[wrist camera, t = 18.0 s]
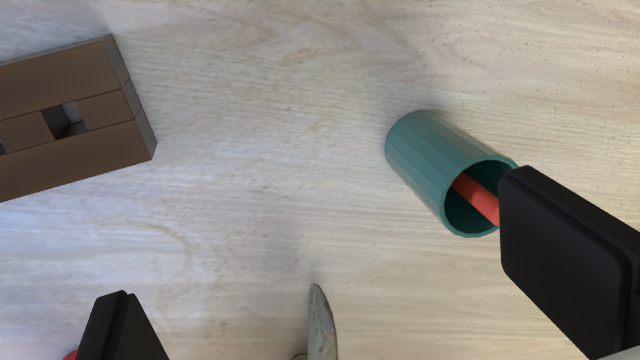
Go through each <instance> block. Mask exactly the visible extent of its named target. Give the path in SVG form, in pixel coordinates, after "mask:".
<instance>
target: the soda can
mask: <svg viewBox="0 0 640 360" xmlns="http://www.w3.org/2000/svg"><path fill="white" fill-rule="evenodd" d="M77 351H78V349H77V350H75V351H73V352H71V353H69V354H68V355H66V356H65V357H64V358H63V359H62V360H75V357H76V354H77Z"/></svg>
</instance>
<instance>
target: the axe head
mask: <svg viewBox="0 0 640 360" xmlns="http://www.w3.org/2000/svg"><path fill="white" fill-rule="evenodd" d="M308 310H309V328H308V355H297V356H296V357H295V358H293V359H292V360H338V347H337V335H336V328H335V323H334V319H333V314H332V311H331V309H330V306H329V303H328V301H327V299H326V296H325V294H324V293H323V291H322V289H321V288H320V286H319V285H318V284H316V283H314V284H312V285H311V288H310V290H309V296H308Z"/></svg>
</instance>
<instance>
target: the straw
mask: <svg viewBox="0 0 640 360" xmlns="http://www.w3.org/2000/svg"><path fill="white" fill-rule="evenodd" d="M450 186H451V187H453V188H454V189H455V190H456V191H457V192H458V193H459V194H460V195H462V196H463V197H464V198H465V199H466V200H467V201H468V202H469V203H471V204H472V205H473V206H474V207H475V208H476V209H477V210H478V211H480V212H481V213H482V214H483V215H484V216H485V217H486V218H487V219H489V220H490V221H491V222H492V223H493V224H494V225H496V226H500V224H499V199H498V198H497V197H496V196H494V195H493V194H492V193H491V192H489V191H488V190H487V189H485V188H484V187H483V186H482V185H480V184H479V183H478V182H477V181H475V180H474V179H473V178H471V177H470V176H469V175H468V174H466V173H465V172H464V171H462V172H461V173H460V174H459V175H458V176H457V177H456V178H455V179H454V180H453V182H452V183H451V185H450Z"/></svg>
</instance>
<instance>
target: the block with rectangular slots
mask: <svg viewBox="0 0 640 360" xmlns="http://www.w3.org/2000/svg"><path fill="white" fill-rule="evenodd" d="M72 101H74V102H75V104H76V106H77V108H78V111H79V113H80V115H81V117H82V119H83V121H82V122H79V123H75V124H71V125H70V123H69V121H68V119H67V117H66V115H65V113H64V111H63V109H62V107H61V104H65V103H68V102H72ZM0 141H1V142H2V143H1V144H0V203H1V202H5V201H8V200H12V199H15V198H19V197H22V196H26V195H30V194H33V193H37V192H40V191H44V190H47V189H51V188H54V187H58V186H61V185H65V184H69V183H72V182H76V181H79V180H83V179H86V178H90V177H93V176H97V175H100V174H104V173H107V172H111V171H115V170H118V169H122V168H125V167H129V166H132V165H136V164H139V163H143V162H146V161H150V160H152V158H153V155H154V152H155V149H156V145H157V141H156V139H155V136H154V134H153V131H152V129H151V127H150V124H149V122H148V119H147V117H146V115H145V112H144V110H143V107H142V106H141V103H140V100H139V98H138V95H137V93H136V90H135V88H134V86H133V83H132V81H131V78H130V76H129V73H128V71H127V68H126V66H125V64H124V61H123V59H122V56H121V54H120V51H119V49H118V47H117V44H116V42H115V39H114V37H113V35H112V34H109V35H105V36H101V37H97V38H93V39H89V40H85V41H81V42H77V43H73V44H69V45H65V46H61V47H58V48H54V49H50V50H46V51H42V52H38V53H34V54H30V55H26V56H22V57H18V58H14V59H10V60H6V61H2V62H0Z"/></svg>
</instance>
